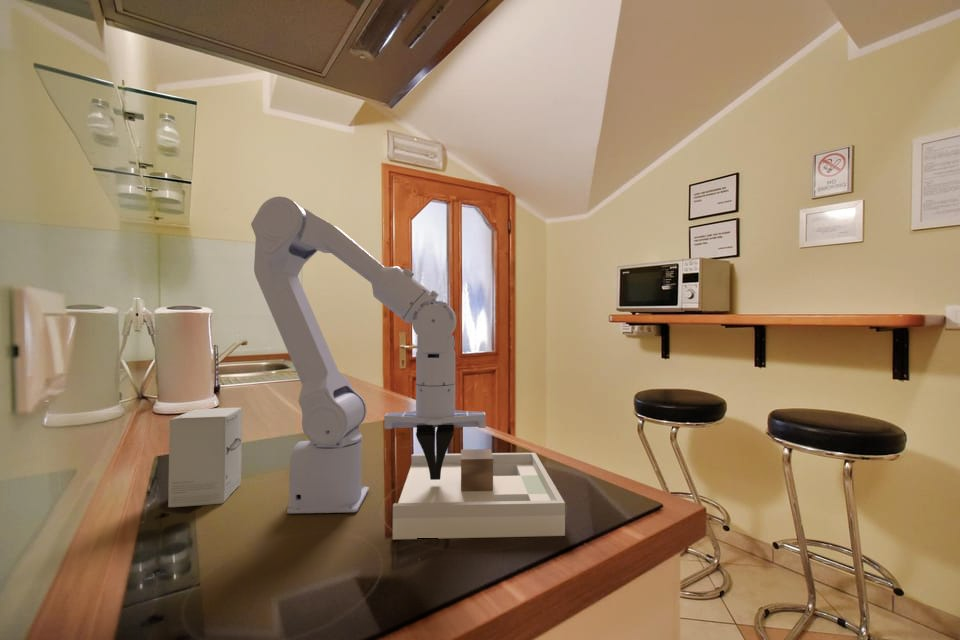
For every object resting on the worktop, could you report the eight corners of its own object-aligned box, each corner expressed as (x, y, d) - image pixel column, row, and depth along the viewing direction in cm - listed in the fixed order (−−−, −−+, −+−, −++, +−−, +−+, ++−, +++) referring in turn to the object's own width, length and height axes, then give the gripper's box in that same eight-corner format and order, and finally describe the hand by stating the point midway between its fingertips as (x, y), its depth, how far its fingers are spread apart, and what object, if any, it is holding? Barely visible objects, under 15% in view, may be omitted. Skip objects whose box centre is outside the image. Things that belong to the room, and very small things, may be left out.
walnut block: (461, 491, 58) (461, 459, 58) (461, 479, 62) (461, 449, 62) (493, 490, 58) (493, 458, 58) (490, 479, 63) (490, 449, 63)
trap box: (392, 539, 50) (392, 506, 50) (411, 477, 70) (412, 454, 70) (565, 535, 51) (565, 502, 51) (535, 476, 71) (535, 452, 71)
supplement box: (224, 504, 59) (225, 416, 59) (166, 508, 58) (167, 418, 58) (242, 484, 67) (243, 406, 67) (191, 488, 65) (192, 408, 65)
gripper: (380, 387, 56) (379, 488, 56) (487, 387, 56) (487, 487, 56) (389, 380, 63) (388, 470, 63) (484, 380, 63) (484, 469, 63)
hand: (435, 477), depth 60 cm, fingers closed
